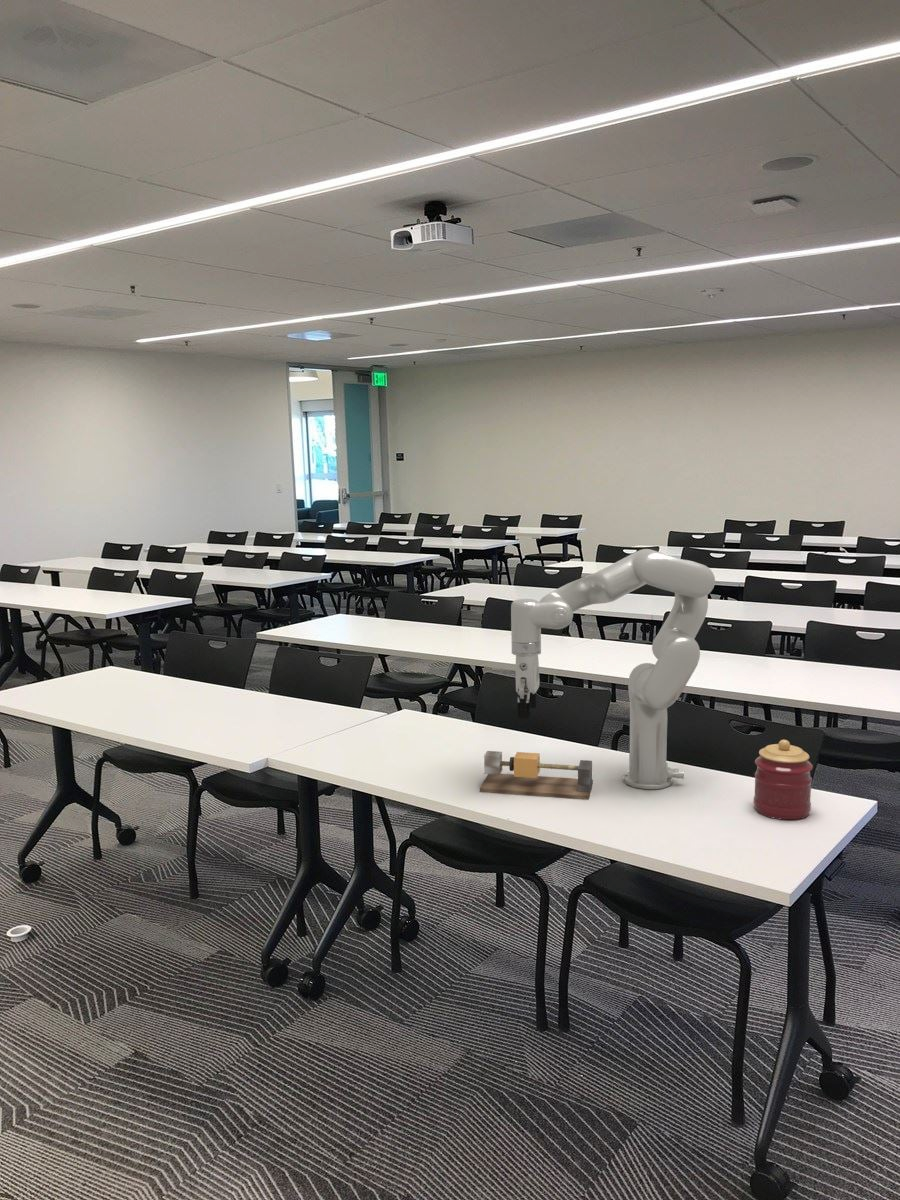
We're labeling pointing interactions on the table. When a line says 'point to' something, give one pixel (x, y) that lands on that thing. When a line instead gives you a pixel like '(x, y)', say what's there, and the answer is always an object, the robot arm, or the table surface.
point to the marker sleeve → (526, 764)
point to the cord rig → (536, 780)
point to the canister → (783, 781)
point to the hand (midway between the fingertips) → (526, 712)
